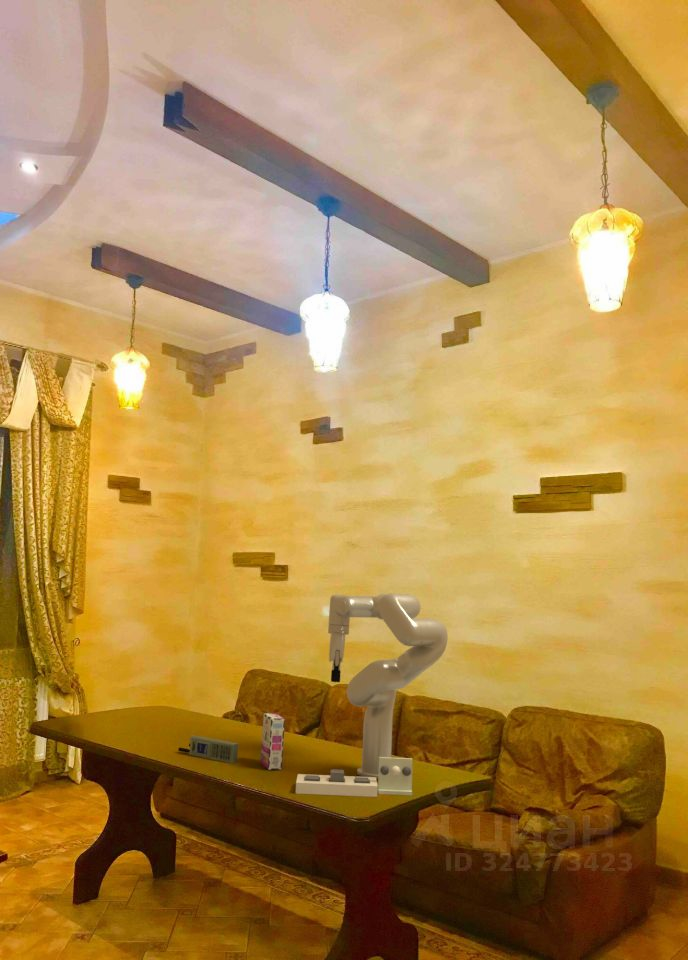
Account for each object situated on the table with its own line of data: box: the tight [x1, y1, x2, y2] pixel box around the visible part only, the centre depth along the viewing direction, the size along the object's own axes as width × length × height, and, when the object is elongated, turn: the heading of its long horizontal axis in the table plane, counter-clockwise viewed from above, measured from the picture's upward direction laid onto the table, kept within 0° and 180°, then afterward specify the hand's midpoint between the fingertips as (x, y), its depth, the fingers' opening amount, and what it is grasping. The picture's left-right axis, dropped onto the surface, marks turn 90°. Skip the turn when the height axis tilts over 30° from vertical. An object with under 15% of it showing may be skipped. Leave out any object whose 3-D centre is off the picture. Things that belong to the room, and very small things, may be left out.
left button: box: [305, 774, 319, 781], centre depth 215 cm, size 4×4×3 cm
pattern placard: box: [377, 756, 413, 796], centre depth 216 cm, size 10×4×10 cm, turn 90°
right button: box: [355, 776, 369, 783], centre depth 215 cm, size 4×4×3 cm
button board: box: [295, 773, 378, 798], centre depth 215 cm, size 24×10×3 cm, turn 90°
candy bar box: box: [259, 712, 286, 771], centre depth 242 cm, size 11×5×16 cm, turn 21°
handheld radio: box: [177, 735, 239, 764], centre depth 249 cm, size 7×3×25 cm
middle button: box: [330, 768, 345, 782], centre depth 215 cm, size 4×4×3 cm
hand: (335, 681), depth 257 cm, fingers closed
